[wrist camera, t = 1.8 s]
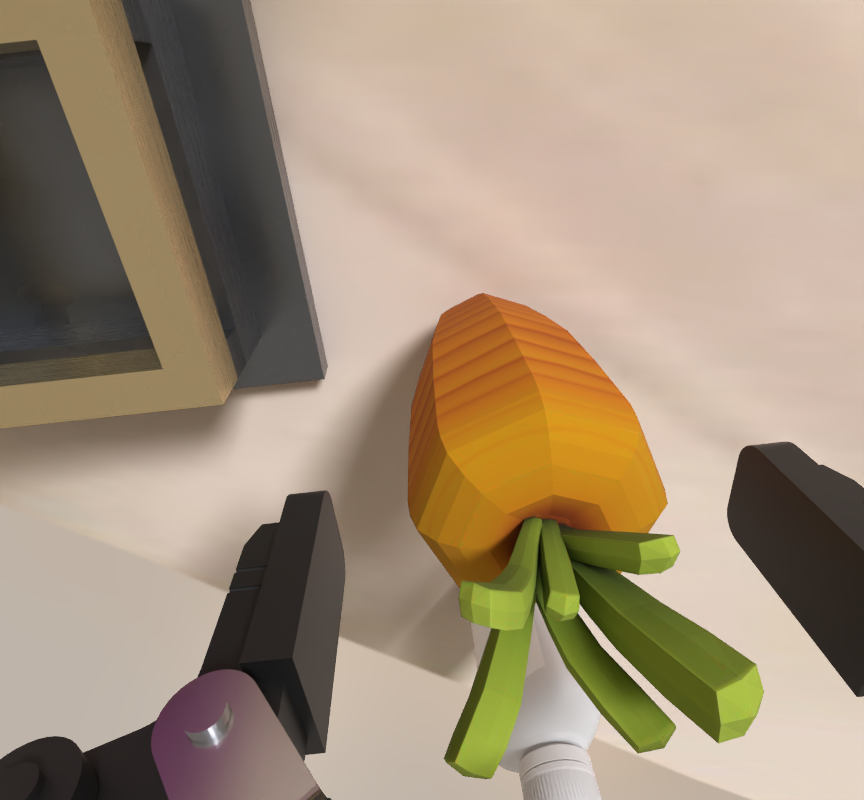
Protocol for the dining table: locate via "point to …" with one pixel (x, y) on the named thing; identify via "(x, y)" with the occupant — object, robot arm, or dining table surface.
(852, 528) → the robot arm
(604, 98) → the dining table surface
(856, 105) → the dining table surface
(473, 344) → the carrot
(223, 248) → the collar stand
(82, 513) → the dining table surface
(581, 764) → the eye dropper bottle
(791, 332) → the dining table surface
